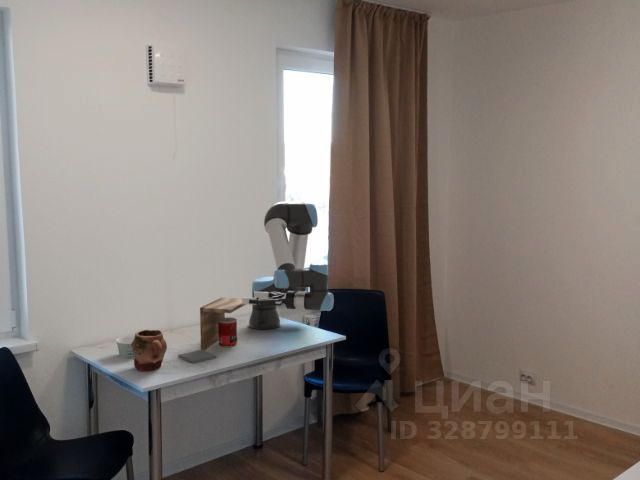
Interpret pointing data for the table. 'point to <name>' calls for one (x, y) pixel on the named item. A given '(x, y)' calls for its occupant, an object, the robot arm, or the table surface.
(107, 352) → the table surface
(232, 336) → the canned food
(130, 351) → the food container
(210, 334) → the walnut shelf
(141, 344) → the terracotta animal pitcher
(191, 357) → the rubber mat
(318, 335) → the table surface
